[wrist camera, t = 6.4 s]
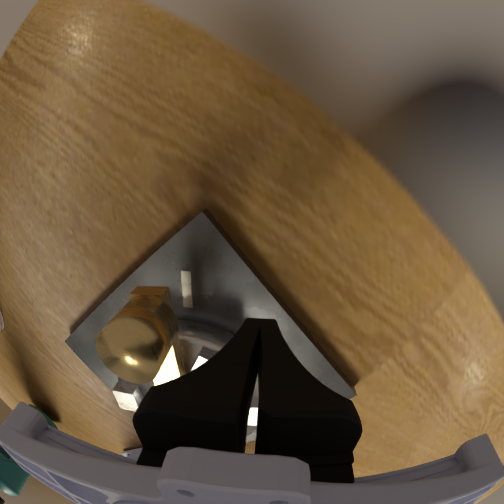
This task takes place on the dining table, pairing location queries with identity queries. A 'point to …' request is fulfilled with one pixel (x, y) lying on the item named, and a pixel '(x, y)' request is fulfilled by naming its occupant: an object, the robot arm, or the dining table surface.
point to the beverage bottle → (14, 469)
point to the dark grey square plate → (208, 300)
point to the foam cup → (1, 322)
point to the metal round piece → (157, 347)
